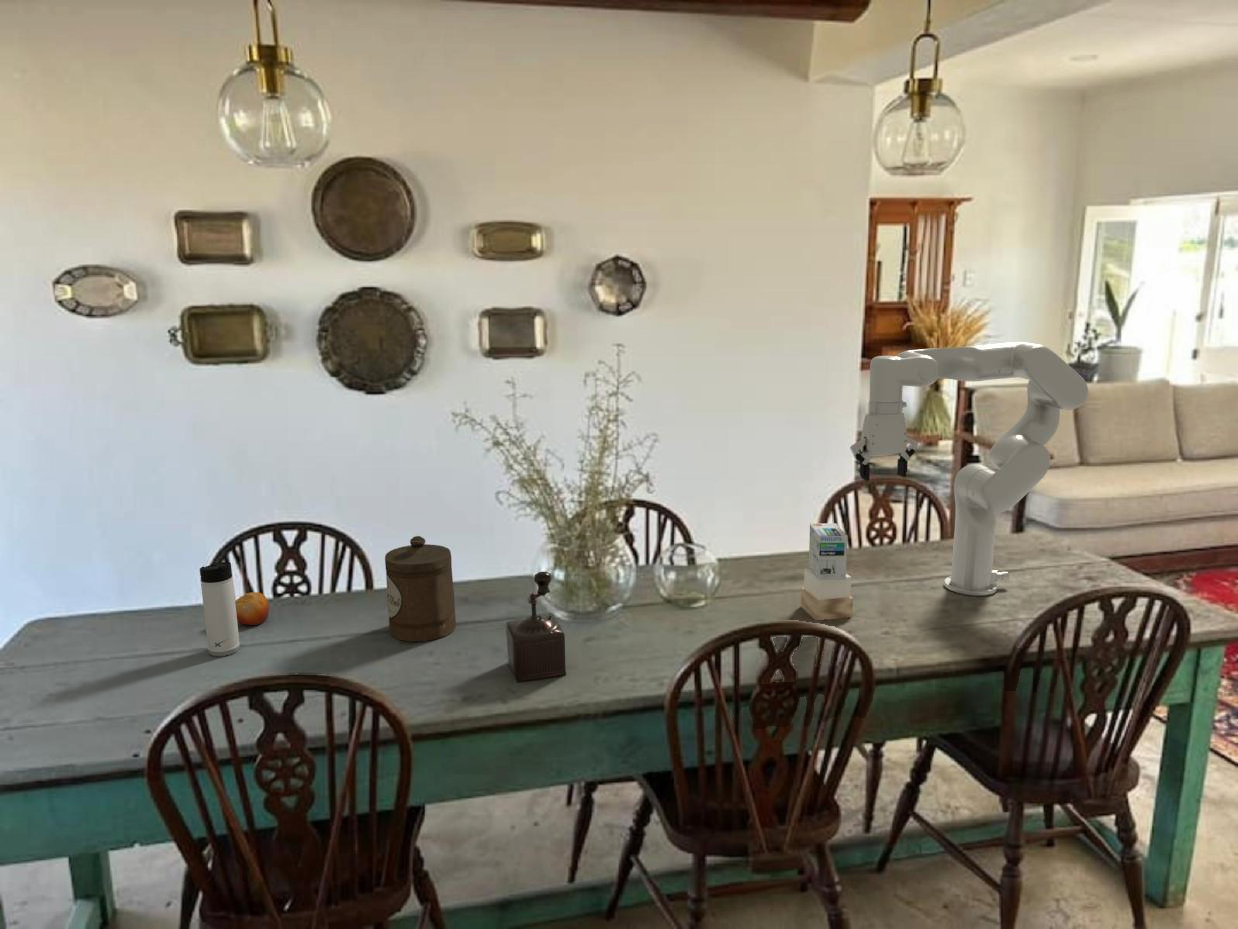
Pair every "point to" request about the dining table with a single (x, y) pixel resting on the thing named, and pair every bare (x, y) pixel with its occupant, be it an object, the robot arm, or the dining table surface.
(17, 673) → the dining table surface
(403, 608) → the wooden container
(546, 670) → the manual coffee grinder
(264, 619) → the fruit
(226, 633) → the travel mug
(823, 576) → the light bulb box
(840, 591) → the tower top
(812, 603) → the tower base
